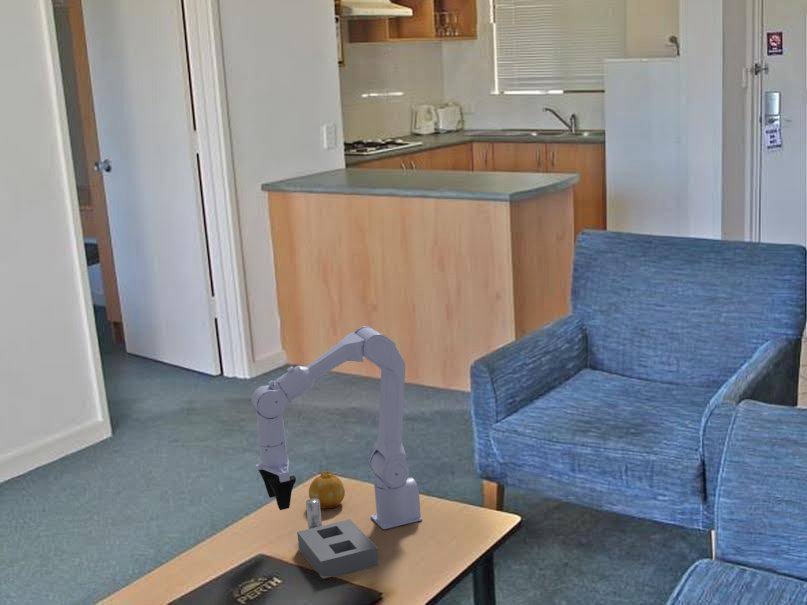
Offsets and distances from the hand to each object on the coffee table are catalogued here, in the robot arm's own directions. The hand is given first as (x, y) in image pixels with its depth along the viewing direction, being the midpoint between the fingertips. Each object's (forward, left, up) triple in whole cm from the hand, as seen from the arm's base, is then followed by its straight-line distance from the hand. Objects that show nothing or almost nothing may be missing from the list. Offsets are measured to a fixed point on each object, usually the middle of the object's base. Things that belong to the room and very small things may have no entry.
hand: (279, 502), depth 224 cm
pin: (-8, -3, -10) cm, 13 cm away
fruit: (-15, -15, -10) cm, 24 cm away
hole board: (-8, +12, -10) cm, 17 cm away
